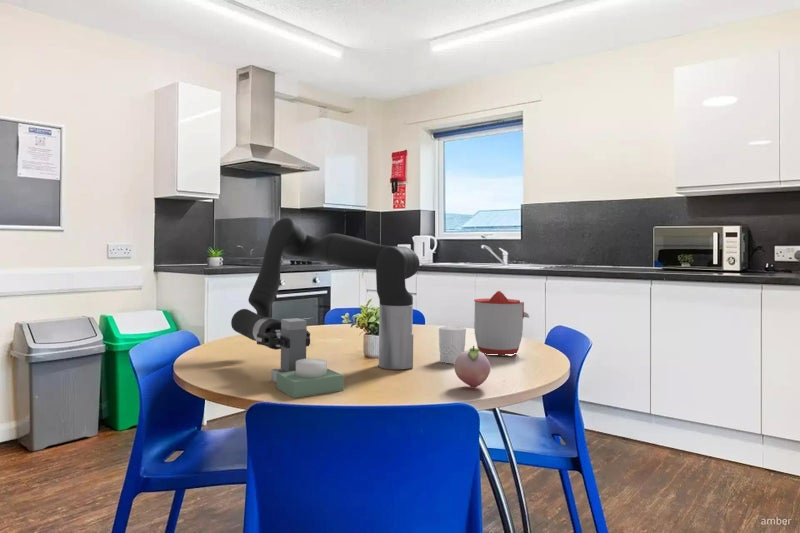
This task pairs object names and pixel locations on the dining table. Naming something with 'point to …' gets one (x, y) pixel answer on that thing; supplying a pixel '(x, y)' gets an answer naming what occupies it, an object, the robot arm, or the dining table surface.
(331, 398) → the dining table surface
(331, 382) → the shallow green tray
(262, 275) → the robot arm
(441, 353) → the white cup
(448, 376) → the dining table surface
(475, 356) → the decorative fruit
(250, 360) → the dining table surface
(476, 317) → the citrus juicer
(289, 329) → the tall grey square pillar
